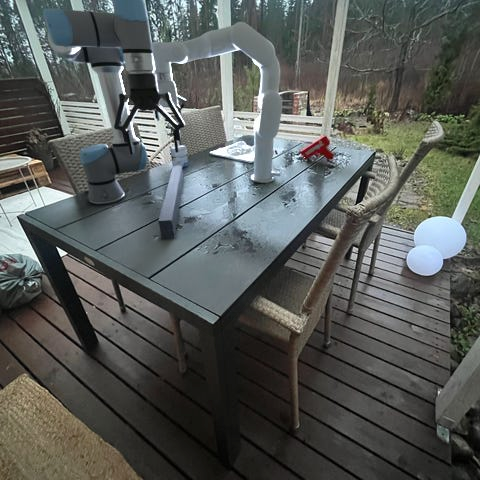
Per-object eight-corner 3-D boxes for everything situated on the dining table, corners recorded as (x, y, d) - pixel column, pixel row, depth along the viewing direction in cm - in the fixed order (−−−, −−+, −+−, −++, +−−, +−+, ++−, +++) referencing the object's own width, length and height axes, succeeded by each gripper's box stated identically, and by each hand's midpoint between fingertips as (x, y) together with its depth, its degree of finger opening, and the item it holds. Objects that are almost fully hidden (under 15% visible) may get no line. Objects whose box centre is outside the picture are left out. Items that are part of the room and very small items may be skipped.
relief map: (251, 162, 170) (251, 154, 168) (209, 154, 188) (209, 146, 185) (273, 153, 189) (273, 145, 186) (233, 146, 206) (233, 139, 204)
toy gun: (337, 154, 172) (326, 134, 168) (337, 156, 169) (325, 135, 165) (312, 169, 182) (300, 150, 178) (311, 171, 179) (299, 152, 175)
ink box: (184, 164, 169) (181, 144, 163) (188, 165, 166) (186, 146, 160) (172, 167, 164) (169, 147, 158) (176, 169, 161) (174, 148, 155)
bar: (175, 179, 147) (173, 165, 143) (183, 178, 148) (181, 165, 144) (161, 239, 96) (158, 220, 92) (174, 238, 97) (171, 220, 93)
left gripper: (88, 73, 69) (110, 157, 80) (187, 72, 72) (195, 153, 83) (97, 72, 75) (116, 150, 87) (188, 72, 78) (195, 147, 89)
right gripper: (141, 77, 113) (148, 122, 122) (183, 77, 115) (187, 121, 124) (144, 77, 119) (151, 119, 128) (184, 76, 121) (188, 118, 130)
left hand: (155, 152), depth 85 cm, fingers open, 13 cm apart
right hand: (169, 120), depth 126 cm, fingers open, 9 cm apart
